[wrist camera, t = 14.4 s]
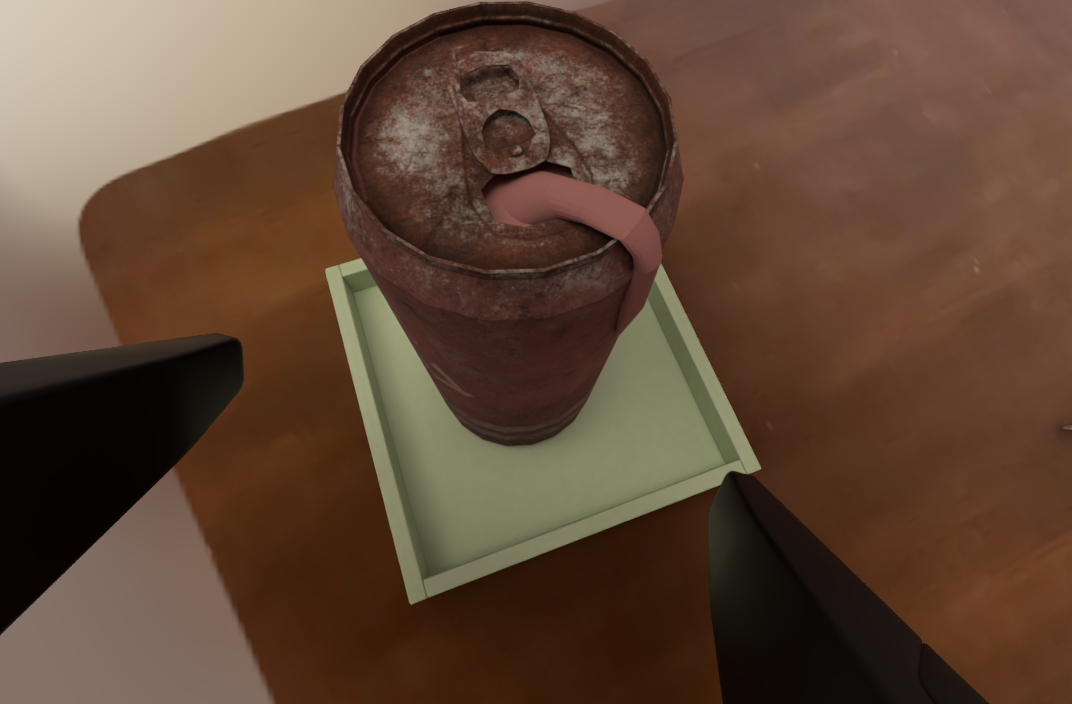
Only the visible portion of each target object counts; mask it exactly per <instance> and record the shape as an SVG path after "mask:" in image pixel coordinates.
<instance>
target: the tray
mask: <svg viewBox="0 0 1072 704" xmlns="http://www.w3.org/2000/svg"><path fill="white" fill-rule="evenodd" d="M325 272H326V276H327V280H328V284H329V288H330V292H331V296H332V300H333V304H334V308H335V312H336V316H337V319H338V323H339V327H340V331H341V335H342V339H343V343H344V347H345V351H346V355H347V359H348V363H349V367H350V371H351V375H352V379H353V383H354V386H355V390H356V394H357V398H358V402H359V406H360V410H361V414H362V418H363V422H364V426H365V430H366V434H367V438H368V442H369V446H370V450H371V453H372V457H373V461H374V465H375V469H376V473H377V477H378V481H379V485H380V489H381V493H382V497H383V501H384V505H385V509H386V513H387V517H388V520H389V524H390V528H391V532H392V536H393V540H394V544H395V548H396V552H397V556H398V560H399V564H400V568H401V572H402V576H403V580H404V584H405V587H406V591H407V595H408V599H409V603H410V604H414V603H417V602H419V601H422V600H424V599H426V598H428V597H432V596H435V595H437V594H440V593H442V592H445V591H448V590H450V589H453V588H455V587H458V586H460V585H463V584H466V583H468V582H471V581H473V580H476V579H479V578H481V577H484V576H486V575H489V574H492V573H494V572H497V571H499V570H502V569H504V568H507V567H510V566H512V565H515V564H517V563H520V562H523V561H525V560H528V559H530V558H533V557H536V556H538V555H541V554H543V553H546V552H548V551H551V550H554V549H556V548H559V547H561V546H564V545H567V544H569V543H572V542H574V541H577V540H580V539H582V538H585V537H587V536H590V535H592V534H595V533H598V532H600V531H603V530H605V529H608V528H611V527H613V526H616V525H618V524H621V523H624V522H626V521H629V520H631V519H634V518H636V517H639V516H642V515H644V514H647V513H649V512H652V511H655V510H657V509H660V508H662V507H665V506H668V505H670V504H673V503H675V502H678V501H680V500H683V499H686V498H688V497H691V496H693V495H696V494H699V493H701V492H704V491H706V490H709V489H711V488H714V487H717V486H719V485H721V483H722V481H723V479H724V477H725V475H726V474H727V473H728V472H730V471H737V472H740V473H744V474H750V473H753V472H756V471H758V470H761V466H760V464H759V462H758V460H757V458H756V456H755V454H754V452H753V450H752V448H751V446H750V444H749V442H748V440H747V438H746V436H745V434H744V432H743V430H742V428H741V426H740V424H739V422H738V419H737V417H736V415H735V413H734V411H733V409H732V407H731V405H730V403H729V401H728V399H727V397H726V395H725V393H724V391H723V389H722V387H721V385H720V383H719V381H718V379H717V377H716V374H715V372H714V370H713V368H712V366H711V364H710V362H709V360H708V358H707V356H706V354H705V352H704V350H703V348H702V346H701V344H700V342H699V340H698V338H697V336H696V334H695V332H694V330H693V327H692V325H691V323H690V321H689V319H688V317H687V315H686V313H685V311H684V309H683V307H682V305H681V303H680V301H679V299H678V297H677V295H676V293H675V291H674V289H673V287H672V285H671V282H670V280H669V278H668V276H667V274H666V272H665V270H664V268H663V266H662V264H660V266H659V269H658V271H657V274H656V277H655V279H654V282H653V284H652V287H651V290H650V292H649V295H648V298H647V300H646V303H645V305H644V308H643V309H642V310H641V311H640V313H639V314H638V315H637V316H636V317H635V318H634V319H633V321H632V322H631V323H630V324H629V325H628V326H627V328H626V329H625V330H624V331H623V332H622V333H621V334H620V335H619V337H618V339H617V341H616V343H615V345H614V347H613V349H612V351H611V353H610V355H609V357H608V359H607V361H606V363H605V365H604V367H603V369H602V371H601V373H600V375H599V377H598V379H597V381H596V383H595V385H594V388H593V390H592V392H591V394H590V396H589V398H588V400H587V402H586V403H585V405H584V406H583V408H582V409H581V411H580V412H579V414H578V416H577V417H576V419H575V420H574V421H573V422H572V423H571V424H570V425H568V426H567V427H566V428H565V429H563V430H562V431H561V432H560V433H559V434H557V435H556V436H554V437H552V438H549V439H546V440H544V441H541V442H538V443H536V444H533V445H520V446H505V445H501V444H497V443H494V442H490V441H487V440H483V439H481V438H480V437H478V436H477V435H475V434H474V433H472V432H471V431H470V430H468V429H467V428H465V427H464V426H462V425H461V423H460V422H459V421H458V419H457V418H456V417H455V415H454V414H453V413H452V411H451V410H450V409H449V407H448V406H447V404H446V403H445V401H444V399H443V397H442V396H441V394H440V392H439V391H438V389H437V387H436V385H435V384H434V382H433V380H432V379H431V377H430V375H429V373H428V372H427V370H426V368H425V367H424V365H423V363H422V361H421V360H420V358H419V356H418V355H417V353H416V351H415V349H414V348H413V346H412V344H411V342H410V341H409V339H408V337H407V336H406V334H405V332H404V330H403V329H402V327H401V325H400V324H399V322H398V320H397V318H396V317H395V315H394V313H393V312H392V310H391V308H390V306H389V305H388V303H387V301H386V300H385V298H384V296H383V294H382V293H381V291H380V289H379V288H378V286H377V284H376V282H375V281H374V279H373V277H372V276H371V274H370V272H369V270H368V269H367V267H366V265H365V264H364V262H363V260H362V258H361V259H357V260H354V261H350V262H347V263H344V264H340V266H339V265H337V266H334V267H330V268H327V269H325Z"/></svg>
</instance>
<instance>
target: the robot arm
mask: <svg viewBox="0 0 1072 704" xmlns="http://www.w3.org/2000/svg"><path fill="white" fill-rule="evenodd" d="M243 381H244V368H243V351H242V344H241V342H240V341H239V340H238V339H237V338H234V337H230V336H226V335H223V334H218V333H213V334H205V335H198V336H191V337H184V338H177V339H169V340H162V341H155V342H148V343H140V344H133V345H126V346H119V347H112V348H104V349H97V350H90V351H84V352H76V353H69V354H62V355H54V356H47V357H40V358H32V359H25V360H18V361H11V362H3V363H0V635H1V634H2V633H3V632H4V631H5V630H6V629H7V628H8V627H9V626H10V625H11V624H12V623H13V622H14V621H15V620H16V619H17V618H18V617H19V616H20V615H21V614H22V613H23V612H24V611H25V610H27V609H28V608H29V607H30V606H31V605H32V604H33V603H34V602H35V601H36V600H37V599H38V598H39V597H40V596H41V595H42V594H43V593H44V592H45V591H46V590H47V589H48V588H49V587H50V586H51V585H52V584H53V583H54V582H55V581H56V580H57V579H58V578H59V577H60V576H61V575H62V574H64V573H65V572H66V571H67V570H68V569H69V568H70V567H71V566H72V565H73V564H74V563H75V562H76V561H77V560H78V559H79V558H80V557H81V556H82V555H83V554H84V553H85V552H86V551H87V550H88V549H89V548H90V547H91V546H92V545H93V544H94V543H95V542H96V541H97V540H98V539H99V538H100V537H102V536H103V535H104V533H106V531H108V530H109V529H110V527H112V526H113V525H114V524H115V523H116V522H117V521H118V520H119V519H120V518H121V517H122V516H123V515H124V514H125V513H126V512H127V511H128V510H129V509H130V508H131V507H132V506H133V505H134V504H135V503H136V502H137V501H138V500H139V499H140V498H142V497H143V496H144V495H145V494H146V493H147V491H149V490H150V489H151V488H152V487H153V486H154V485H155V484H156V483H157V482H158V481H159V480H160V479H161V478H162V477H163V476H164V475H165V474H166V473H167V472H168V471H169V470H170V469H171V468H172V467H173V466H174V465H175V464H176V463H177V462H178V461H179V460H180V459H181V458H182V457H183V456H184V455H185V454H186V453H187V452H188V451H189V450H190V449H191V448H192V447H193V445H194V444H195V443H196V442H197V441H198V440H199V439H200V437H201V436H202V435H203V434H204V433H205V431H206V430H207V429H208V428H209V427H210V425H211V424H212V423H213V422H214V421H215V420H216V418H217V417H218V416H219V415H220V414H221V412H222V411H223V410H224V409H225V408H226V406H227V405H228V404H229V403H230V402H231V400H232V399H233V398H234V397H235V396H236V395H237V393H238V392H239V391H240V389H241V387H242V385H243ZM709 592H710V607H711V616H712V624H713V631H714V639H715V647H716V654H717V662H718V670H719V677H720V685H721V693H722V700H723V704H989V703H988V702H987V701H986V700H985V699H984V698H983V697H982V696H981V695H980V694H978V693H977V692H976V691H975V690H974V689H973V688H972V687H971V686H970V685H969V684H968V683H967V682H966V681H965V680H964V679H963V678H962V677H960V676H959V675H958V674H957V673H956V672H955V671H954V670H953V669H952V668H951V667H950V666H949V665H948V664H947V663H946V662H945V661H944V660H943V659H942V658H941V657H940V656H939V655H938V654H937V653H936V652H935V651H934V650H933V649H932V648H931V647H930V646H928V645H927V644H925V643H923V644H922V640H921V638H920V637H919V636H918V635H917V634H916V633H915V632H914V631H913V630H912V629H911V628H910V627H909V626H908V625H907V624H906V623H905V622H904V621H903V620H901V619H900V618H899V617H898V616H897V615H896V614H895V613H894V612H893V611H892V610H891V609H890V608H889V607H888V606H887V605H886V604H885V603H884V602H883V601H882V600H881V599H880V598H879V597H878V596H877V595H876V594H875V593H874V592H873V591H872V590H871V589H870V588H869V587H867V586H866V585H865V584H864V583H863V582H862V581H861V580H860V579H859V578H858V577H857V576H856V575H855V574H854V573H853V572H852V571H851V570H850V569H849V568H848V567H847V566H846V565H845V564H844V563H843V562H842V561H841V560H840V559H839V558H838V557H837V556H836V555H834V554H833V553H832V552H831V551H830V550H829V549H828V548H827V547H826V546H825V545H824V544H823V543H822V542H821V541H820V540H819V539H818V538H817V537H816V536H815V535H814V534H813V533H812V532H811V531H810V530H809V529H808V528H807V527H806V526H805V525H804V524H803V523H802V522H800V521H799V520H798V519H797V518H796V517H795V516H794V515H793V514H792V513H791V512H790V511H789V510H788V509H787V508H786V507H785V506H784V505H783V504H782V503H781V502H780V501H779V500H778V499H777V498H776V497H775V496H774V495H773V494H772V493H771V492H770V491H769V490H768V489H766V488H765V487H764V486H763V485H762V484H761V483H760V482H759V481H758V480H757V479H756V478H755V477H754V476H751V475H748V474H744V473H740V472H737V471H730V472H728V473H727V474H726V475H725V477H724V479H723V481H722V483H721V485H720V488H719V490H718V492H717V494H716V496H715V498H714V501H713V503H712V505H711V508H710V512H709Z"/></svg>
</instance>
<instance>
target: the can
mask: <svg viewBox="0 0 1072 704" xmlns="http://www.w3.org/2000/svg"><path fill="white" fill-rule="evenodd" d="M683 180H684V178H683V172H682V166H681V160H680V154H679V148H678V136H677V131H676V125H675V119H674V113H673V107H672V102H671V98H670V96H669V95H668V93H667V91H666V90H665V88H664V86H663V84H662V83H661V81H660V79H659V78H658V76H657V74H656V72H655V71H654V69H653V67H652V66H651V64H650V62H649V61H648V60H647V59H645V58H644V57H643V56H642V55H641V54H640V53H639V52H638V51H636V50H635V49H634V48H633V47H632V46H631V45H630V44H629V43H627V42H626V41H625V40H624V39H623V38H622V37H621V36H620V35H618V34H617V33H616V32H614V31H612V30H610V29H608V28H606V27H604V26H602V25H600V24H598V23H596V22H594V21H592V20H590V19H588V18H586V17H584V16H582V15H580V14H578V13H576V12H573V11H568V10H564V9H559V8H555V7H550V6H545V5H541V4H537V3H532V2H478V3H474V4H470V5H466V6H462V7H458V8H453V9H449V10H445V11H441V12H437V13H433V14H432V15H429V16H428V17H426V18H424V19H422V20H420V21H418V22H416V23H414V24H413V25H411V26H409V27H407V28H405V29H403V30H401V31H399V32H398V33H396V34H394V35H392V36H391V37H390V38H389V39H388V40H387V41H386V42H385V43H384V44H383V45H382V46H381V47H380V48H379V49H378V50H377V51H376V52H375V53H373V54H372V55H371V56H370V57H369V59H367V60H366V61H365V62H364V63H363V64H362V65H361V66H360V68H359V70H358V72H357V74H356V76H355V78H354V80H353V82H352V84H351V86H350V87H349V89H348V91H347V93H346V95H345V97H344V99H343V101H342V103H341V106H340V116H339V127H338V137H337V152H336V163H335V173H334V184H333V189H334V192H335V195H336V199H337V202H338V205H339V209H340V212H341V215H342V219H343V222H344V225H345V229H346V232H347V234H348V236H349V238H350V239H351V241H352V243H353V245H354V246H355V248H356V250H357V252H358V253H359V255H360V257H361V258H362V260H363V262H364V264H365V265H366V267H367V269H368V270H369V272H370V274H371V276H372V277H373V279H374V281H375V282H376V284H377V286H378V288H379V289H380V291H381V293H382V294H383V296H384V298H385V300H386V301H387V303H388V305H389V306H390V308H391V310H392V312H393V313H394V315H395V317H396V318H397V320H398V322H399V324H400V325H401V327H402V329H403V330H404V332H405V334H406V336H407V337H408V339H409V341H410V342H411V344H412V346H413V348H414V349H415V351H416V353H417V355H418V356H419V358H420V360H421V361H422V363H423V365H424V367H425V368H426V370H427V372H428V373H429V375H430V377H431V379H432V380H433V382H434V384H435V385H436V387H437V389H438V391H439V392H440V394H441V396H442V397H443V399H444V401H445V403H446V404H447V406H448V407H449V409H450V410H451V411H452V413H453V414H454V415H455V417H456V418H457V419H458V421H459V422H460V423H461V425H462V426H464V427H465V428H467V429H468V430H470V431H471V432H472V433H474V434H475V435H477V436H478V437H480V438H481V439H483V440H487V441H490V442H494V443H497V444H501V445H505V446H520V445H533V444H536V443H538V442H541V441H544V440H546V439H549V438H552V437H554V436H556V435H557V434H559V433H560V432H561V431H562V430H563V429H565V428H566V427H567V426H568V425H570V424H571V423H572V422H573V421H574V420H575V419H576V417H577V416H578V414H579V412H580V411H581V409H582V408H583V406H584V405H585V403H586V402H587V400H588V398H589V396H590V394H591V392H592V390H593V388H594V385H595V383H596V381H597V379H598V377H599V375H600V373H601V371H602V369H603V367H604V365H605V363H606V361H607V359H608V357H609V355H610V353H611V351H612V349H613V347H614V345H615V343H616V341H617V339H618V337H619V335H620V334H621V333H622V332H623V331H624V330H625V329H626V328H627V326H628V325H629V324H630V323H631V322H632V321H633V319H634V318H635V317H636V316H637V315H638V314H639V313H640V311H641V310H642V309H643V308H644V305H645V303H646V300H647V298H648V295H649V292H650V290H651V287H652V284H653V282H654V279H655V277H656V274H657V271H658V269H659V266H660V264H661V261H662V257H663V256H662V248H663V246H664V244H665V242H666V240H667V238H668V236H669V234H670V232H671V230H672V228H673V226H674V223H675V218H676V213H677V209H678V204H679V199H680V194H681V190H682V185H683Z"/></svg>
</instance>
